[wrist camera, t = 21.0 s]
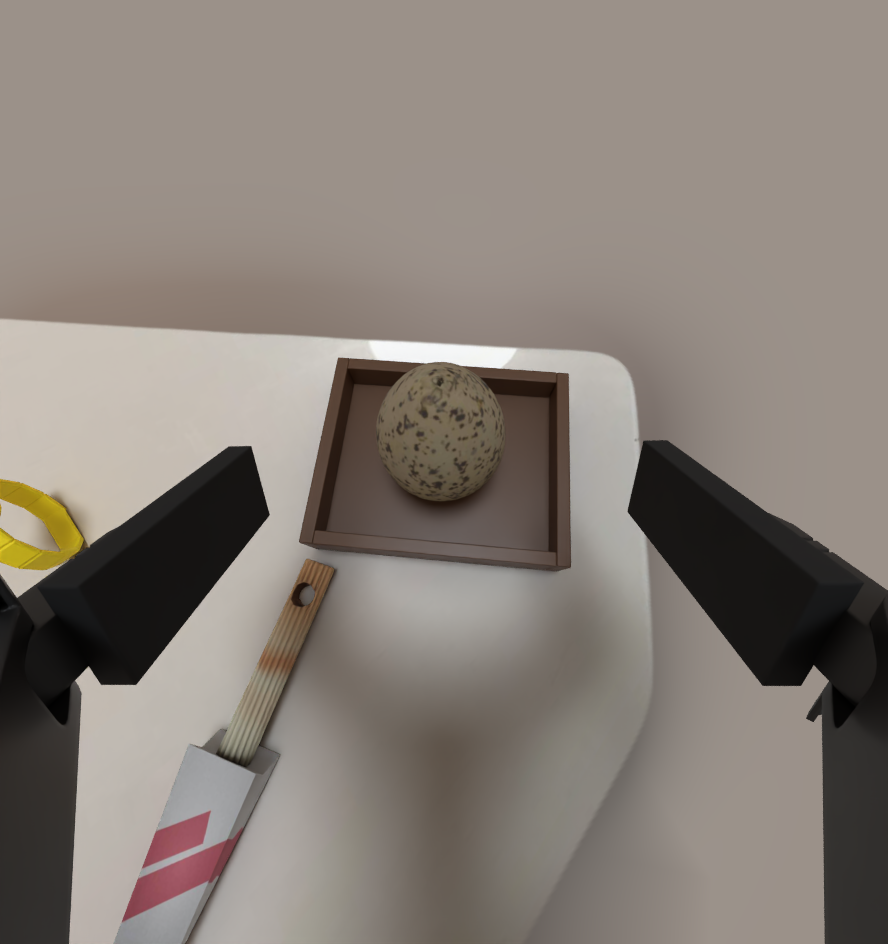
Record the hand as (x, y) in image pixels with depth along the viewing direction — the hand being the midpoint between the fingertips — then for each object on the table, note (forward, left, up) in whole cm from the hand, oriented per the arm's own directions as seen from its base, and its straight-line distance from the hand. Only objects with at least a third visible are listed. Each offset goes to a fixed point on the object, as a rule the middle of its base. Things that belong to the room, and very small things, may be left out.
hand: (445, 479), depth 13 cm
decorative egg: (+4, -2, -12) cm, 12 cm away
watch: (+15, +21, -13) cm, 29 cm away
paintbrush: (-3, +16, -13) cm, 20 cm away
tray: (+4, -2, -12) cm, 13 cm away
